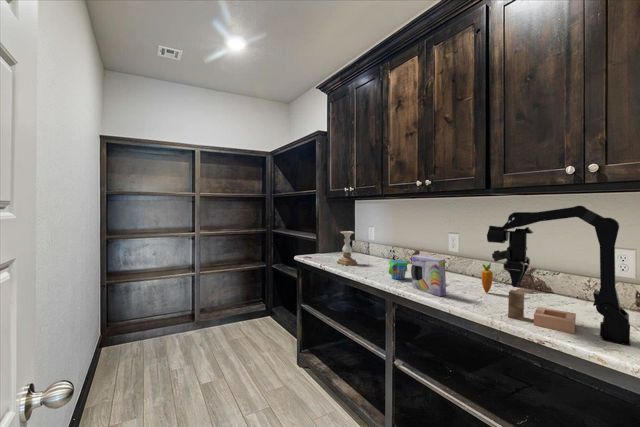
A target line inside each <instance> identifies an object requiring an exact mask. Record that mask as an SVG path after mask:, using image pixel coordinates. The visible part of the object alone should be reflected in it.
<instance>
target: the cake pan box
mask: <svg viewBox="0 0 640 427" xmlns="http://www.w3.org/2000/svg"><path fill="white" fill-rule="evenodd" d="M410 274H411V279H412V289H414V290H418V291H420V292H423V293H428V294H431V295H434V296H438V297H445V296H447V282H446V281H447V280H446V277H447V276H446V259H445V258H437V257H434V256H428V255H423V254H422V255H421V254H414V255H412V256H411V268H410Z"/></svg>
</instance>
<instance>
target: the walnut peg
mask: <svg viewBox="0 0 640 427" xmlns="http://www.w3.org/2000/svg"><path fill="white" fill-rule="evenodd" d="M507 303H508V307H507V309H508V310H507V312H508V313H507V318H509V319H513V320H517V321H523V319H524V316H525V313H524V312H525V291H521V290H515V289H510V290H508V302H507Z"/></svg>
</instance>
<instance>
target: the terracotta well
mask: <svg viewBox="0 0 640 427" xmlns="http://www.w3.org/2000/svg"><path fill="white" fill-rule="evenodd" d="M576 317H577V314H576V313H575V312H569V311H564V310H557V309H553V308H547V307H543V306H537V307H536V309H535V311H534V314H533V326H536V327H541V328H546V329H550V330H555V331H560V332H564V333H569V334H575V332H576V323H577V322H576V320H577V319H576Z"/></svg>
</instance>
